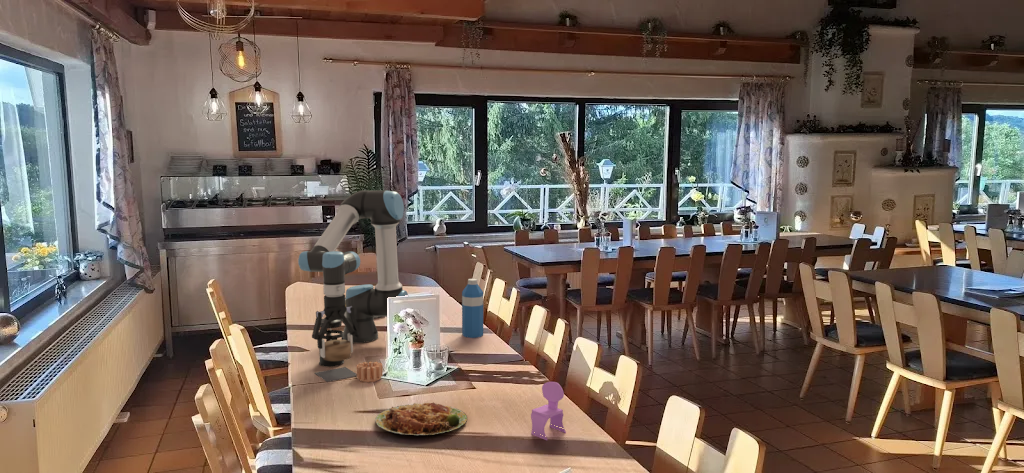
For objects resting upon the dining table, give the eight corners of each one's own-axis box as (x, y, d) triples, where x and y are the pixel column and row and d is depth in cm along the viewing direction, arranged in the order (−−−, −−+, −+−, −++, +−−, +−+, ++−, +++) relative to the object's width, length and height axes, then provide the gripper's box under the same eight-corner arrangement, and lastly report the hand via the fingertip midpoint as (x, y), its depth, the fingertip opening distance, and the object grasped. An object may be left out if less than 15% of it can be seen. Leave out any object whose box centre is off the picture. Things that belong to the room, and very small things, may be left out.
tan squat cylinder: (318, 355, 266) (317, 340, 265) (344, 350, 272) (343, 335, 271) (329, 363, 258) (328, 347, 257) (355, 357, 264) (354, 342, 263)
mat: (314, 373, 266) (314, 372, 266) (345, 367, 273) (345, 366, 273) (327, 382, 257) (327, 381, 257) (358, 375, 264) (358, 375, 264)
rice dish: (423, 403, 240) (423, 387, 239) (486, 420, 222) (485, 403, 222) (356, 429, 218) (355, 411, 218) (419, 450, 201) (418, 431, 200)
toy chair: (527, 433, 212) (527, 384, 210) (547, 425, 218) (548, 377, 216) (548, 442, 206) (548, 391, 204) (568, 433, 212) (569, 384, 211)
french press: (316, 360, 282) (314, 302, 279) (340, 357, 286) (338, 300, 283) (323, 369, 271) (321, 309, 268) (348, 365, 276) (346, 306, 273)
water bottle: (482, 338, 316) (482, 281, 313) (461, 337, 316) (461, 281, 313) (483, 332, 326) (483, 277, 322) (463, 332, 326) (462, 277, 323)
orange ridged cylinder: (352, 377, 262) (352, 364, 261) (375, 373, 267) (375, 359, 267) (363, 384, 255) (363, 370, 254) (386, 379, 260) (386, 366, 259)
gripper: (307, 301, 252) (310, 362, 255) (367, 292, 265) (369, 351, 268) (300, 297, 258) (303, 357, 261) (359, 288, 271) (361, 346, 274)
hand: (336, 354), depth 265 cm, fingers closed on tan squat cylinder, 10 cm apart
